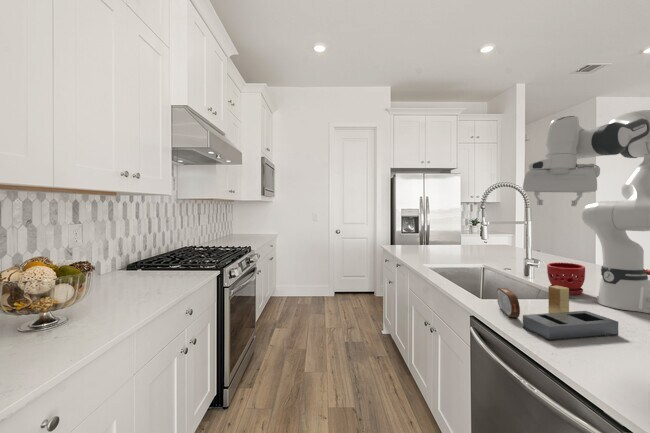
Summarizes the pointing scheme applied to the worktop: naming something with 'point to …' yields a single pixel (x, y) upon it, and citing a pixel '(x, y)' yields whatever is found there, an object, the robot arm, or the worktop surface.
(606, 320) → the block
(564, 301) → the tan rectangular block
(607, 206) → the robot arm
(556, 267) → the plant pot
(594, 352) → the worktop surface
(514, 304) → the tin
